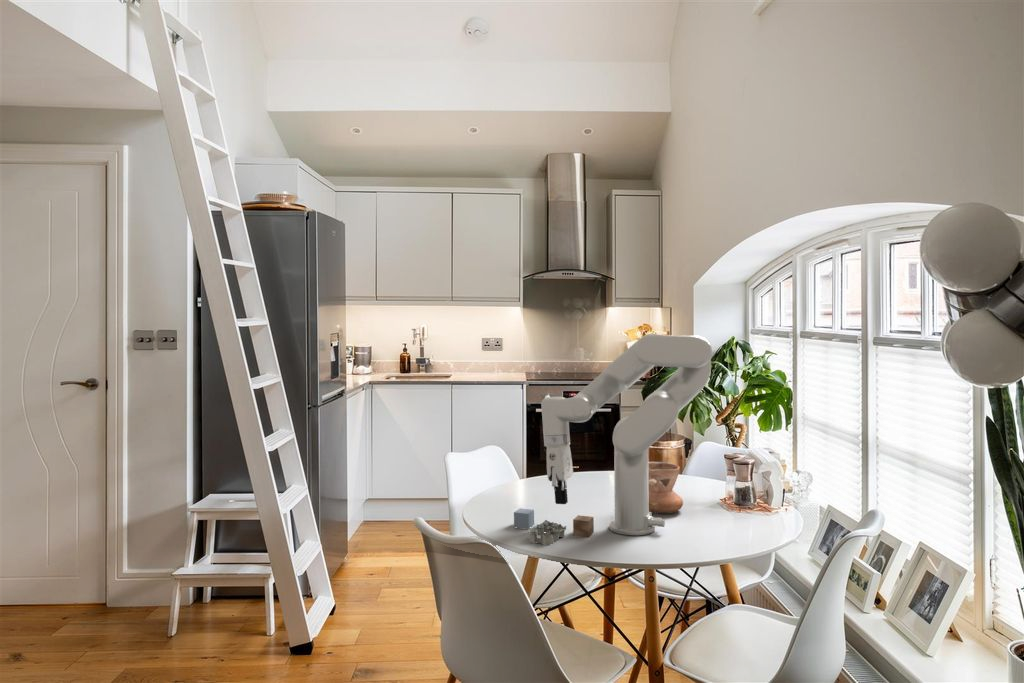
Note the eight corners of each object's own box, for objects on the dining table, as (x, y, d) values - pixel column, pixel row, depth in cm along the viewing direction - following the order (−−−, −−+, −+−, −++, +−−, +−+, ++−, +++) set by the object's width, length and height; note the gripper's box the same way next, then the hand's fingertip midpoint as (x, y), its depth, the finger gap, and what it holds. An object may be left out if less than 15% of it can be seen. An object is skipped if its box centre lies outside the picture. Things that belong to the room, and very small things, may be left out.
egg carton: (548, 547, 166) (548, 532, 166) (524, 542, 171) (524, 527, 171) (569, 536, 175) (569, 521, 175) (546, 531, 179) (545, 517, 179)
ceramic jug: (675, 521, 188) (676, 472, 188) (627, 514, 194) (628, 467, 194) (689, 507, 203) (689, 462, 203) (644, 501, 210) (644, 458, 210)
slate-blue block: (534, 525, 185) (534, 509, 185) (528, 529, 181) (528, 513, 181) (519, 523, 187) (519, 508, 187) (514, 528, 183) (513, 512, 183)
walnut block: (593, 533, 178) (593, 516, 178) (589, 537, 173) (589, 521, 173) (578, 531, 179) (577, 515, 179) (573, 536, 175) (573, 519, 175)
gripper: (561, 444, 176) (566, 510, 176) (576, 435, 190) (581, 497, 190) (535, 444, 179) (540, 510, 179) (553, 435, 193) (557, 496, 193)
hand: (561, 503), depth 184 cm, fingers closed
